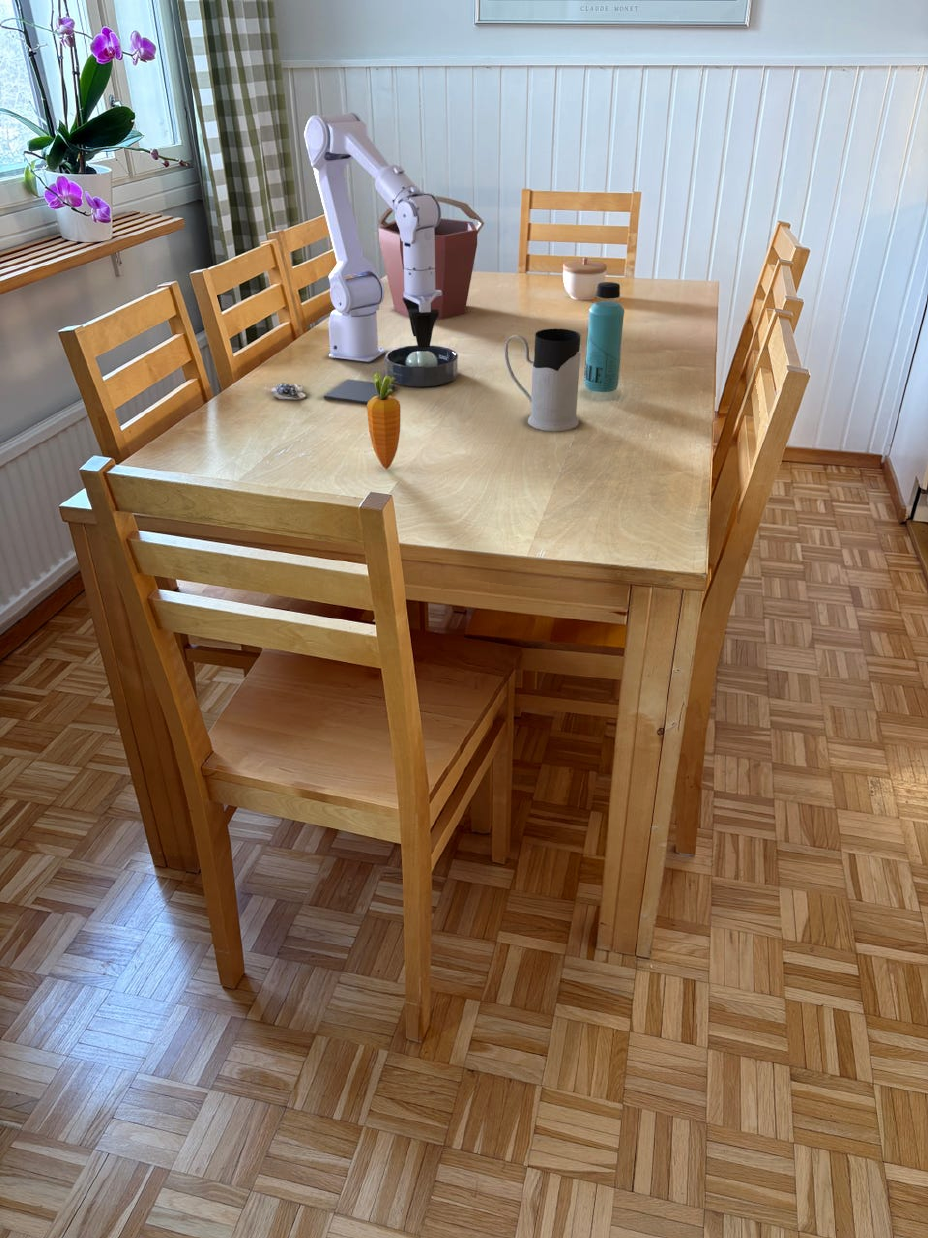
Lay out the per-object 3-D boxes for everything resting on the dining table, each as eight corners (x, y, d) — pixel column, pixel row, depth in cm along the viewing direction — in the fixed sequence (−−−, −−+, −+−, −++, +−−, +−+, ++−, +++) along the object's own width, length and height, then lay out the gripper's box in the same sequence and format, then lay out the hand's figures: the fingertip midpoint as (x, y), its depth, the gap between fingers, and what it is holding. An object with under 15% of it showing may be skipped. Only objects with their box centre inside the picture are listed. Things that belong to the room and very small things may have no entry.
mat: (323, 398, 172) (323, 395, 171) (348, 381, 180) (348, 379, 179) (373, 405, 169) (373, 402, 168) (395, 387, 177) (395, 385, 176)
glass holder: (564, 434, 157) (569, 345, 149) (491, 418, 163) (492, 331, 155) (587, 418, 163) (593, 332, 155) (515, 403, 169) (518, 319, 161)
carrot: (370, 462, 147) (365, 368, 139) (402, 461, 147) (398, 367, 139) (370, 475, 143) (365, 379, 135) (403, 474, 143) (399, 378, 135)
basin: (374, 383, 179) (372, 362, 177) (403, 361, 190) (402, 342, 188) (442, 391, 175) (441, 370, 173) (468, 369, 186) (468, 349, 184)
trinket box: (562, 291, 239) (564, 252, 234) (604, 292, 238) (607, 253, 233) (560, 301, 230) (562, 261, 225) (604, 303, 229) (607, 263, 224)
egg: (407, 378, 180) (406, 355, 177) (404, 371, 183) (404, 349, 181) (439, 376, 181) (438, 354, 178) (436, 369, 184) (435, 347, 182)
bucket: (498, 306, 226) (500, 194, 212) (447, 328, 210) (446, 208, 197) (414, 293, 237) (411, 185, 223) (361, 313, 221) (354, 198, 208)
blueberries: (292, 384, 178) (291, 374, 177) (317, 394, 173) (317, 384, 172) (262, 392, 174) (261, 382, 173) (287, 403, 169) (286, 393, 168)
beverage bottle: (620, 390, 175) (631, 280, 165) (613, 402, 170) (624, 288, 159) (586, 386, 177) (594, 277, 166) (578, 398, 172) (586, 285, 161)
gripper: (446, 275, 166) (447, 351, 173) (435, 257, 178) (436, 329, 185) (407, 276, 165) (409, 353, 172) (398, 259, 177) (401, 331, 184)
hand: (421, 341), depth 179 cm, fingers open, 7 cm apart
